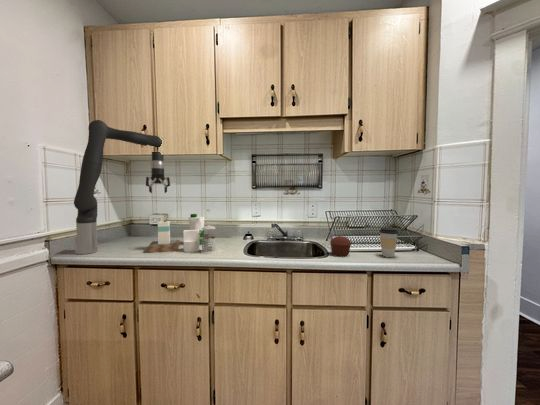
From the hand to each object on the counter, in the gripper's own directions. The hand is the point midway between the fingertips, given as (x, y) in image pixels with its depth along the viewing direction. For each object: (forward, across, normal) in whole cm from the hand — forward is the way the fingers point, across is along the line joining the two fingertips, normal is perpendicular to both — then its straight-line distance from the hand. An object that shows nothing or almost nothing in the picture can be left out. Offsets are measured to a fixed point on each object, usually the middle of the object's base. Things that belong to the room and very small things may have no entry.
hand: (158, 192), depth 158 cm
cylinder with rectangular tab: (+34, +21, -23) cm, 46 cm away
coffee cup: (+34, +124, -67) cm, 145 cm away
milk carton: (+34, +24, -6) cm, 42 cm away
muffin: (+34, +101, -56) cm, 121 cm away
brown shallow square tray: (+34, +5, -15) cm, 38 cm away
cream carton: (+30, +5, -15) cm, 34 cm away
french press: (+34, +30, -29) cm, 54 cm away
